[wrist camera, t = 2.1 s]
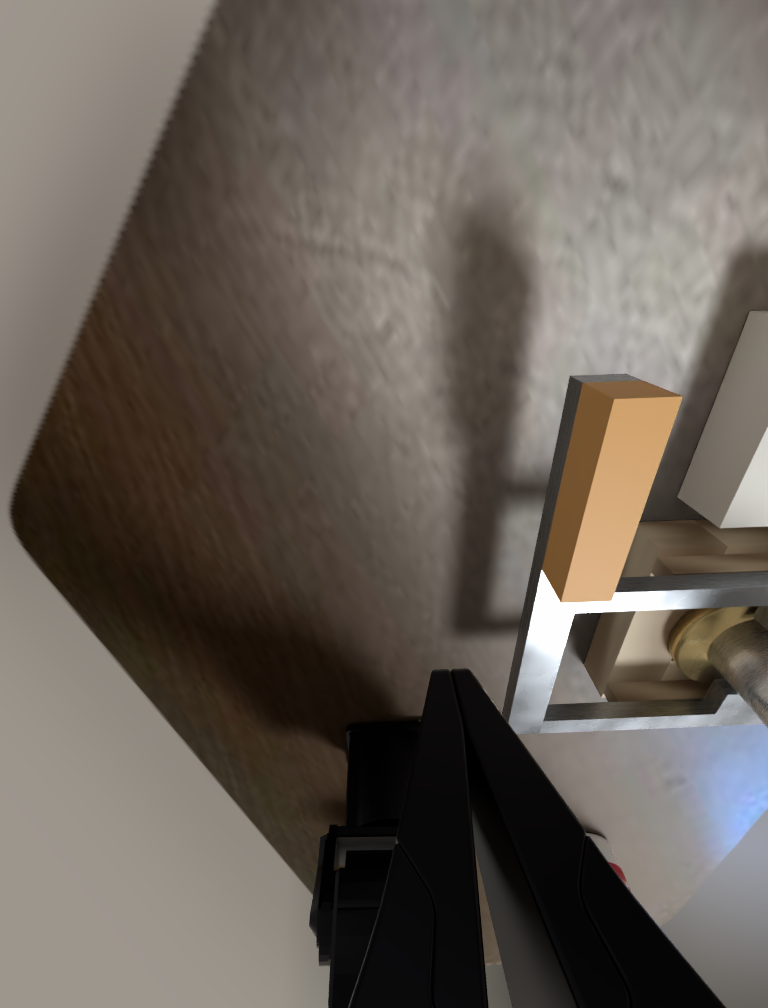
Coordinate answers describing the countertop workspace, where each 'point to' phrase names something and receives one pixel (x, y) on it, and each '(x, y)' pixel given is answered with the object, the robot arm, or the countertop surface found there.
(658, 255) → the countertop surface
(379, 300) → the countertop surface
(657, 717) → the key plate
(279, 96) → the countertop surface
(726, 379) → the white hollow block
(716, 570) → the socket block
